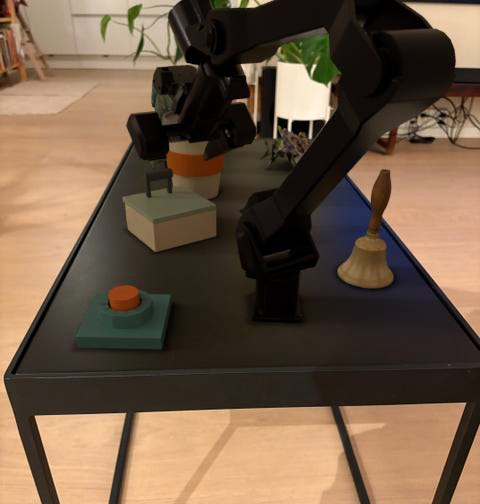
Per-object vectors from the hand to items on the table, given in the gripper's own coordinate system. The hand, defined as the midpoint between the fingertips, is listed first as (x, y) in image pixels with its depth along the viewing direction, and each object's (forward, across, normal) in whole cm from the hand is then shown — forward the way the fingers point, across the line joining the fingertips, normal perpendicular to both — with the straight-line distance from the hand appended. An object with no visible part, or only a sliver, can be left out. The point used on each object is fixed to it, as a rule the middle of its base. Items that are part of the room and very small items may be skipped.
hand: (179, 162), depth 82 cm
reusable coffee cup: (+21, -12, -4) cm, 24 cm away
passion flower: (+23, -36, -7) cm, 44 cm away
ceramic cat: (+36, -17, -22) cm, 46 cm away
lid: (+7, +1, +3) cm, 8 cm away
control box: (-5, +18, +24) cm, 31 cm away
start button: (-7, +18, +22) cm, 29 cm away
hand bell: (-8, -17, +28) cm, 34 cm away
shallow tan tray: (+10, +1, +7) cm, 13 cm away
